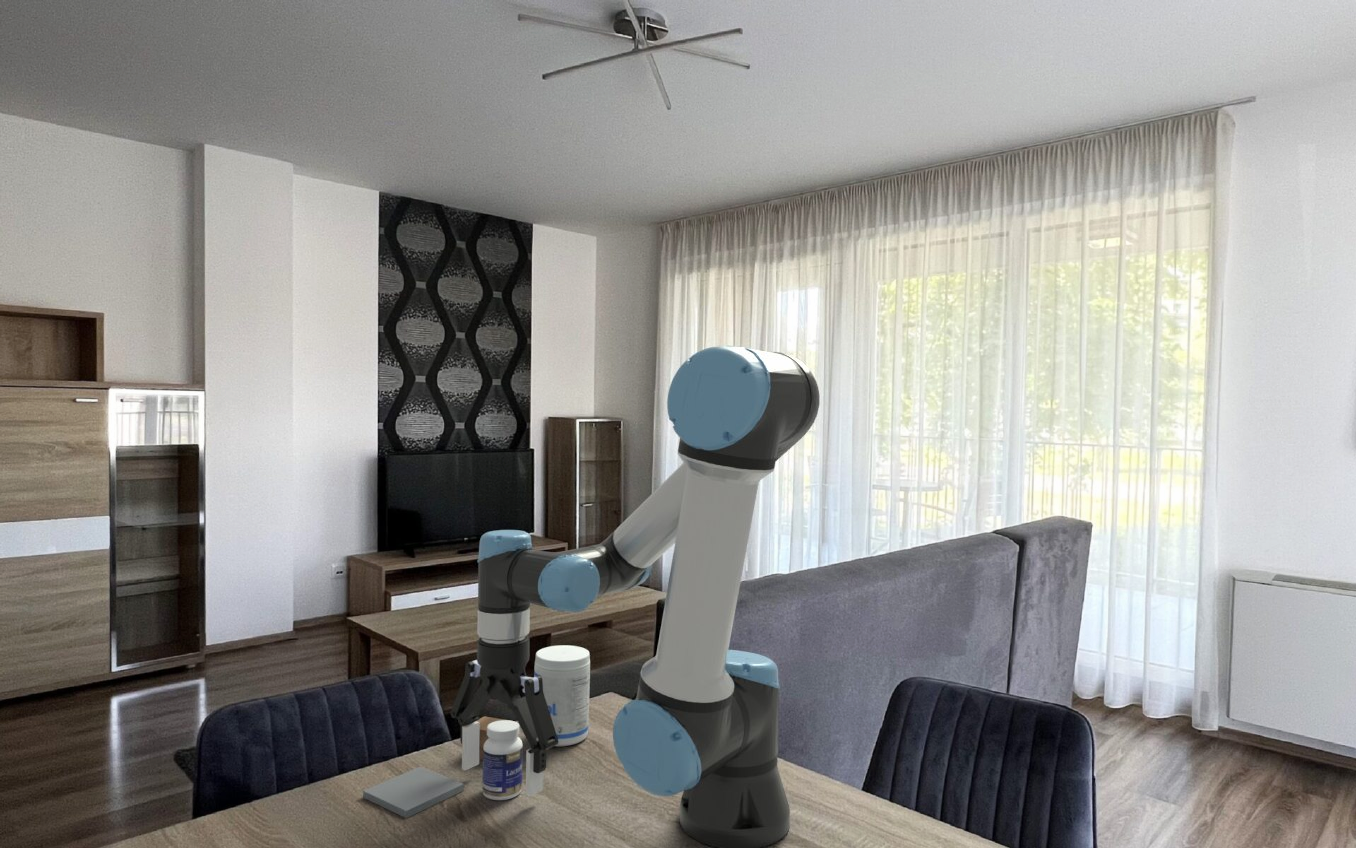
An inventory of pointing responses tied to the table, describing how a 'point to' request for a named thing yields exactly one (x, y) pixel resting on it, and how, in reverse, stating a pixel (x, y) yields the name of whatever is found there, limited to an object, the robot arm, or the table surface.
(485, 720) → the walnut cube
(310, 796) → the table surface
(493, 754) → the pill bottle
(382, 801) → the slate coaster
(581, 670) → the supplement tub
